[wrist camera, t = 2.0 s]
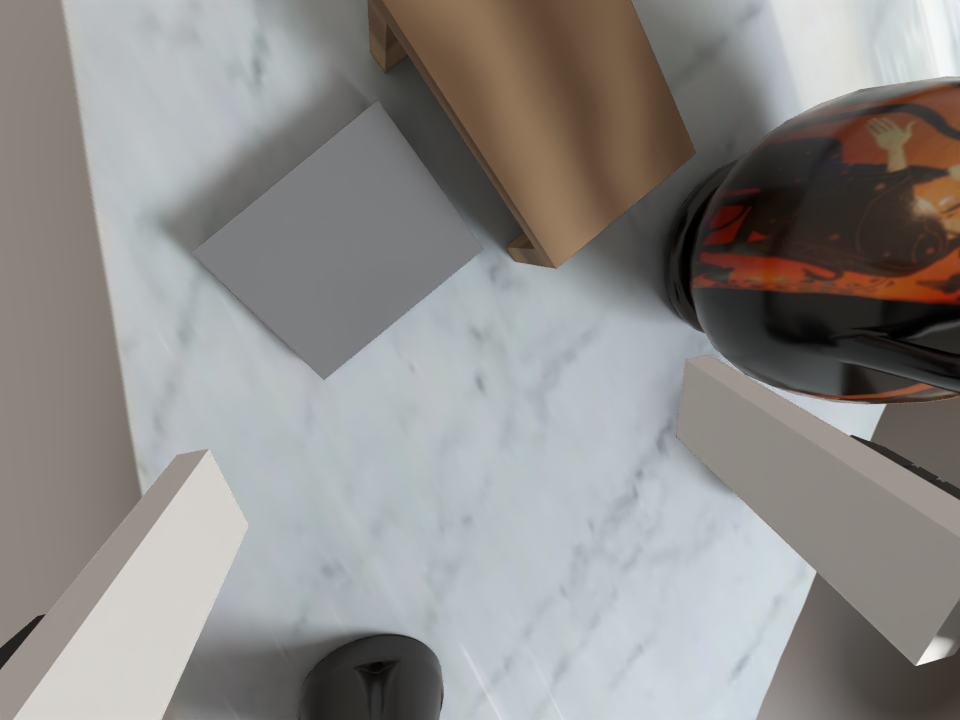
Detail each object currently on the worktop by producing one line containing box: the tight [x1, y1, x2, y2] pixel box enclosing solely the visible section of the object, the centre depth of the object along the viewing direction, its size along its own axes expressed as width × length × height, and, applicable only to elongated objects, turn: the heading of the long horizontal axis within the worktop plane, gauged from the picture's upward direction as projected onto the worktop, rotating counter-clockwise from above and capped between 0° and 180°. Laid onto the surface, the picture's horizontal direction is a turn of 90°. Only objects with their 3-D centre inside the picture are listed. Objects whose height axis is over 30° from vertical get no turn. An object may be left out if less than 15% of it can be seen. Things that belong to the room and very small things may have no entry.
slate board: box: [192, 100, 484, 380], centre depth 30 cm, size 16×12×3 cm
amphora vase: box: [665, 77, 960, 404], centre depth 26 cm, size 22×22×28 cm
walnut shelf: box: [368, 0, 696, 268], centre depth 27 cm, size 12×18×8 cm, turn 37°
